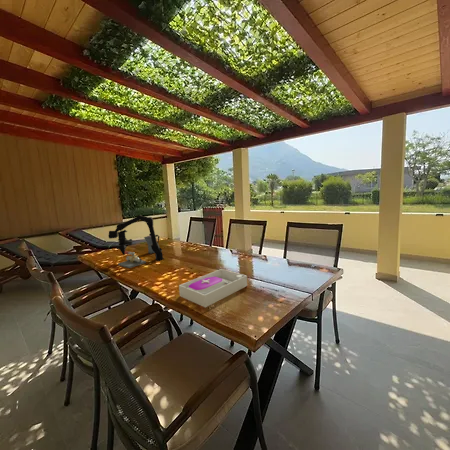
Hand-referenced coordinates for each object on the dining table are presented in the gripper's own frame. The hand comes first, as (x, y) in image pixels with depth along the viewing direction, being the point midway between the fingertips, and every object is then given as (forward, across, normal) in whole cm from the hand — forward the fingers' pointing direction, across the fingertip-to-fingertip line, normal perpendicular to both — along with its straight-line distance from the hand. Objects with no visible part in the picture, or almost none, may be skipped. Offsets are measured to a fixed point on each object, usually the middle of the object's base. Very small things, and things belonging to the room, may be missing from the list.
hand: (123, 254), depth 213 cm
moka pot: (+7, +30, -21) cm, 38 cm away
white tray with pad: (+10, -84, -70) cm, 110 cm away
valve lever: (0, -1, -5) cm, 5 cm away
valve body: (+6, -5, -9) cm, 12 cm away
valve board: (+8, -6, -7) cm, 12 cm away
